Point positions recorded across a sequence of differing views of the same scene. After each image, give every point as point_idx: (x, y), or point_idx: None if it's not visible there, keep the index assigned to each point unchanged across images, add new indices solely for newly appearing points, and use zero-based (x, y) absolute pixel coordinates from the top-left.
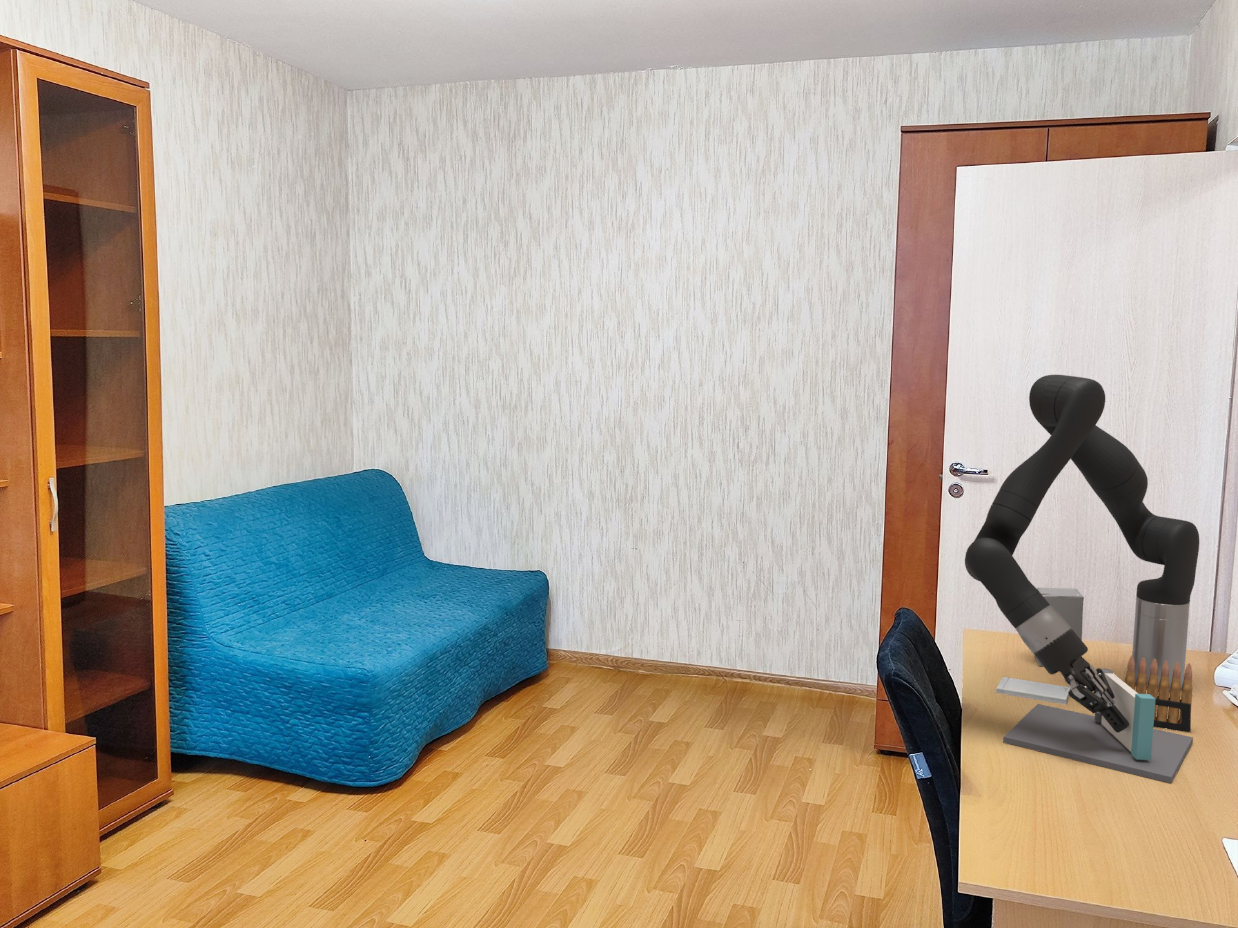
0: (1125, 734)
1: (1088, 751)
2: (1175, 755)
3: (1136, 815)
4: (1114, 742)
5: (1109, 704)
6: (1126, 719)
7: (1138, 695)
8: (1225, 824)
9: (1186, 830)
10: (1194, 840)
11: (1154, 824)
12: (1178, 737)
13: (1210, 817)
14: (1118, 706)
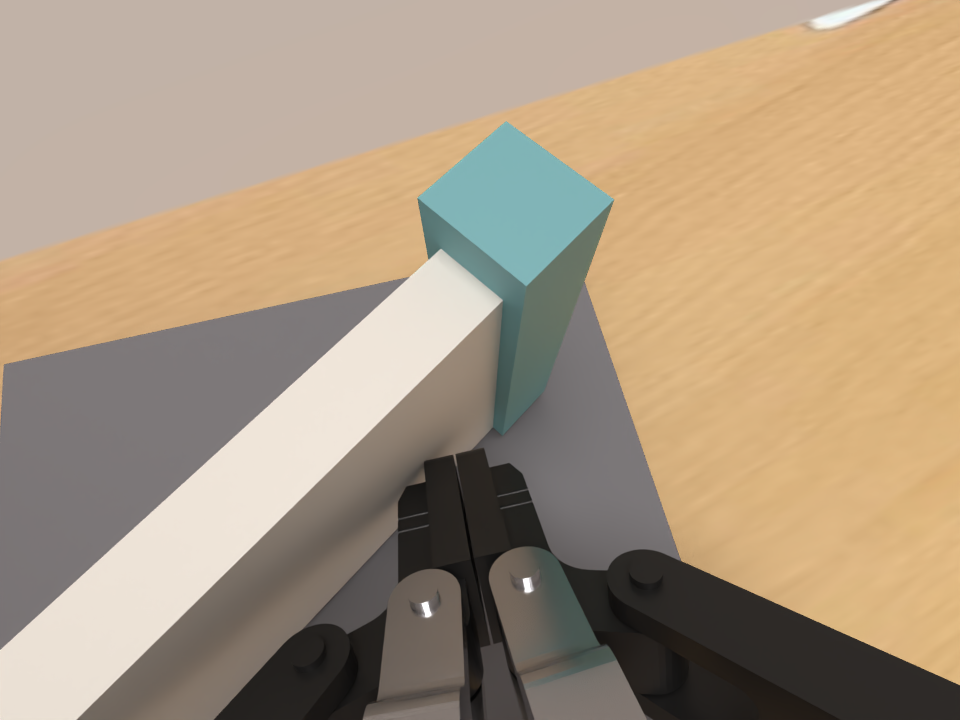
0: None
1: None
2: (312, 324)
3: (944, 219)
4: (370, 588)
5: (547, 562)
6: (427, 474)
7: (553, 245)
8: (727, 51)
9: (880, 95)
10: (917, 62)
11: (943, 161)
12: (53, 407)
13: (721, 88)
14: (263, 613)
